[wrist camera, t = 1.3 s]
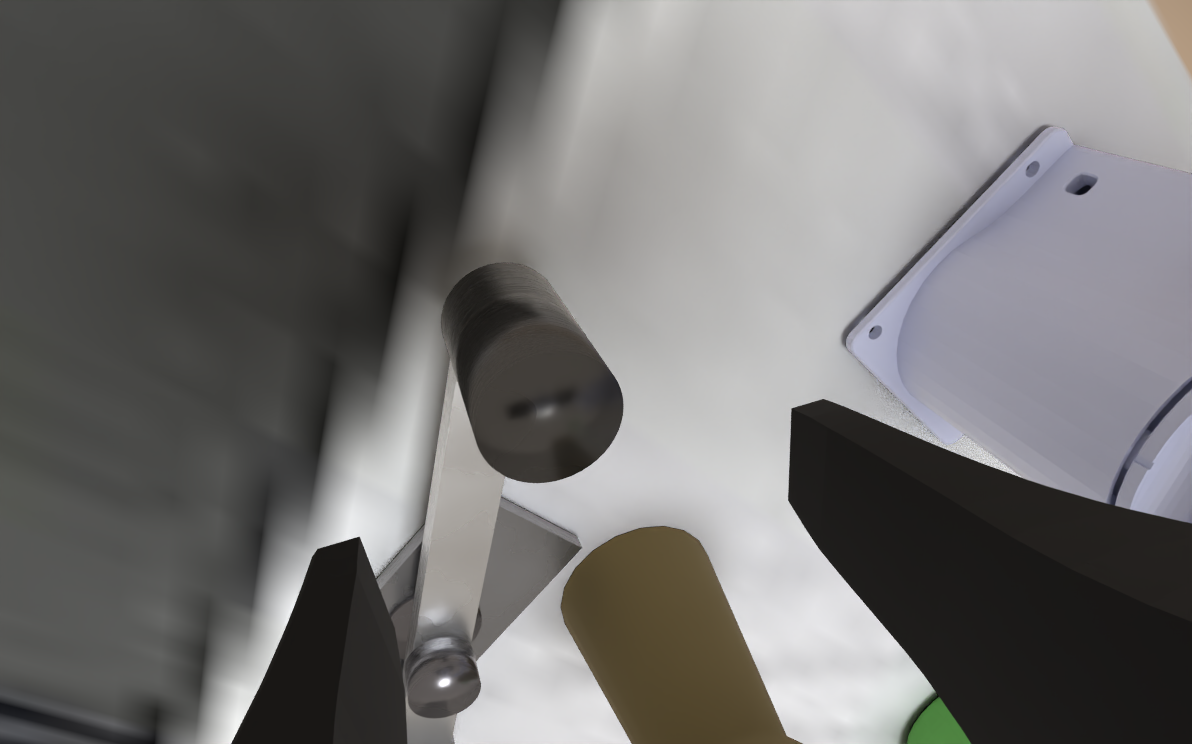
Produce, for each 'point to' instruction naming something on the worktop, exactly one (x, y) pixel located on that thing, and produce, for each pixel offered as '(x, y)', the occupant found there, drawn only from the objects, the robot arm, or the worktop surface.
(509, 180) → the worktop surface
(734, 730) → the cork
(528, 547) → the base plate
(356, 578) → the robot arm
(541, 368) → the lever
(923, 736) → the wine bottle
